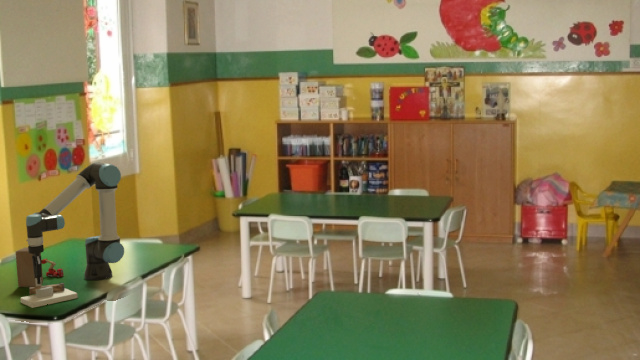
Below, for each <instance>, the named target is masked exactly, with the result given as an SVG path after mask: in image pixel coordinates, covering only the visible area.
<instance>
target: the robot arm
mask: <svg viewBox="0 0 640 360" xmlns="http://www.w3.org/2000/svg"><path fill="white" fill-rule="evenodd" d="M121 178H122V174H121V170H120V169H119V168H118V166H117V165H114V164H111V163H107V162H106V163H104V162H103V163H102V162H93V163H91V164H89V165H88V166H87V167H85V168H84V169H82V170H81V171H80V172H79V173H78V174H77V175H76V178H75V179H74V180H73V181H72V182H71V183H70V184H68V186H66V187H65V188H64V189H63V190H62V191H61V192H59V194H58V195H57V196H56V197H54V198H53V199H52V200H51V201H50V202H49V203H48V204H47V205H46V206H45V207H43V208H42V209H41V210H40V211H39V212H34V213H32V214H29V215H27V216H26V217H25V218H26V219H25V225H26V236H27V239H26V242H27V245H28V246H27V248H28V252H29V253H30V254H33V256H32V261H33V269H34V275H35V277H34V278H35V283H36V286H35V287H38V286H43V285H42V284H43V283H41V277H42V274H43V264H42V260H43V259H42V255H41V256H40V253H41V254H43V252H44V251H45V249H44V247H45V246H44V233H46V232H52V231H58V230H61V229H64V228H65V224H66V222H65V221H66V220H65V218H64V217H63V215H61V214H60V213H61V212H62V211H64V210H65V208H67V207H68V206H69V205H70V204H71V203H72V202H74V200H75V199H77V197H79V196H80V195H81V194H82V193H83V192H84V191H85V190H86V189H90V188H92V187H93V186H94V185H95V190H96V191H97V192H98V205H99V227H100V235H96V236H90V237H87V238H85V241H84V243H85V244H84V246H85V257H86V266H85V270H84V274H83V275H84V276H83V277H84V280H88V281H99V280H101V281H102V280H107V279H109V278H112V277H113V270H112V269H111V265H110V264H115V263H118V262H120V261H121V259H123V257H124V255H125V247H124V245H123V244H122V243H121V237H120V236H119V235H118V232H117V231H118V230H117V229H118V228H117V227H118V226H117V209H116V206H117V205H116V190H118V185H119V183H120V181H121Z"/></svg>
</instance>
